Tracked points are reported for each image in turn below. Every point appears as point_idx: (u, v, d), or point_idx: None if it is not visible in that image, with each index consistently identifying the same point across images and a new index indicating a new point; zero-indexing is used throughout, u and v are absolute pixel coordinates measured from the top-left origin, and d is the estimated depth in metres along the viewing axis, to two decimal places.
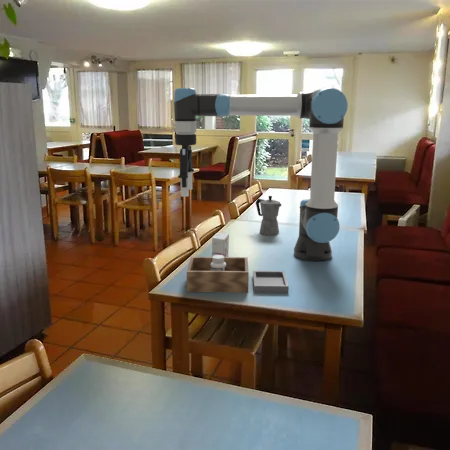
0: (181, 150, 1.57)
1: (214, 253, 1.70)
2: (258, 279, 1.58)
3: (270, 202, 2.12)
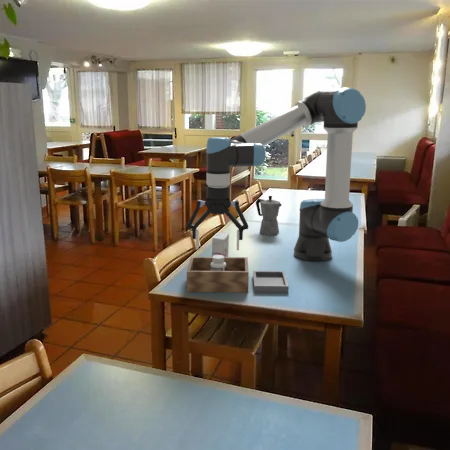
0: None
1: (213, 253, 1.70)
2: (258, 279, 1.58)
3: (270, 202, 2.12)
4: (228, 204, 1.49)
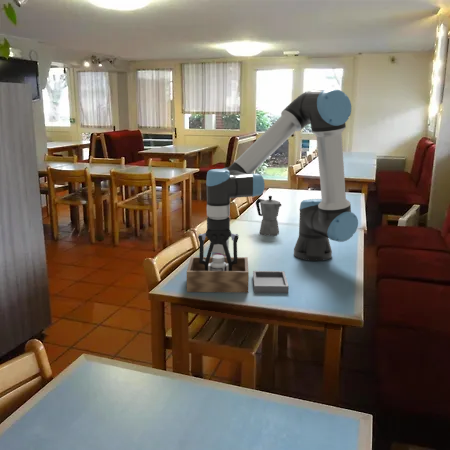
0: None
1: (213, 253, 1.70)
2: (258, 279, 1.58)
3: (270, 202, 2.12)
4: (228, 234, 1.51)
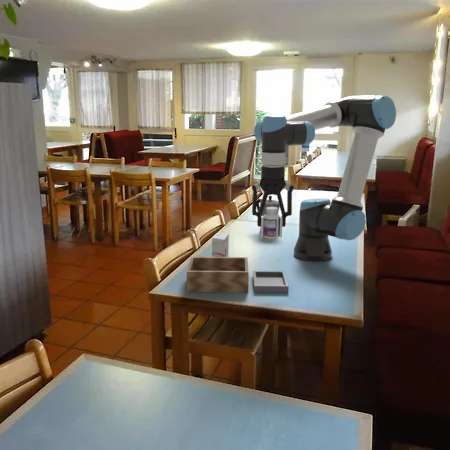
0: None
1: (213, 253, 1.70)
2: (258, 279, 1.58)
3: (270, 202, 2.12)
4: (283, 184, 1.46)
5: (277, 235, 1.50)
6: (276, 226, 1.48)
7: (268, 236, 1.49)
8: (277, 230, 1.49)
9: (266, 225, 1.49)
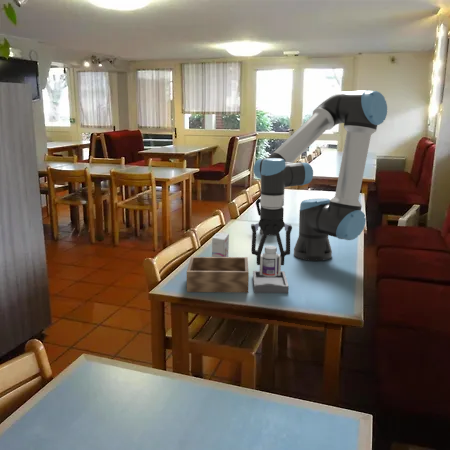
0: (251, 226, 1.52)
1: (213, 253, 1.70)
2: (258, 279, 1.58)
3: None
4: (282, 225, 1.49)
5: (276, 273, 1.53)
6: (275, 265, 1.52)
7: (267, 275, 1.52)
8: (276, 269, 1.52)
9: (265, 264, 1.52)
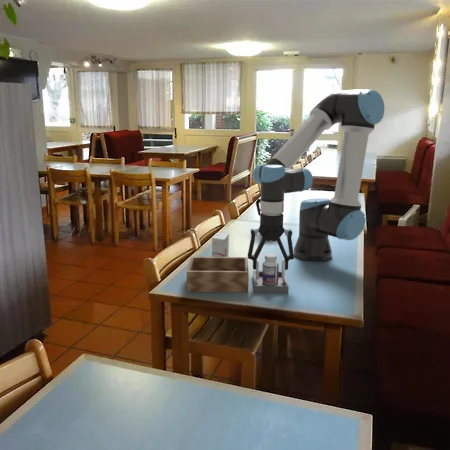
0: None
1: (213, 253, 1.70)
2: None
3: None
4: (282, 231, 1.50)
5: (276, 281, 1.54)
6: (275, 273, 1.53)
7: (267, 282, 1.53)
8: (276, 276, 1.53)
9: (265, 272, 1.53)
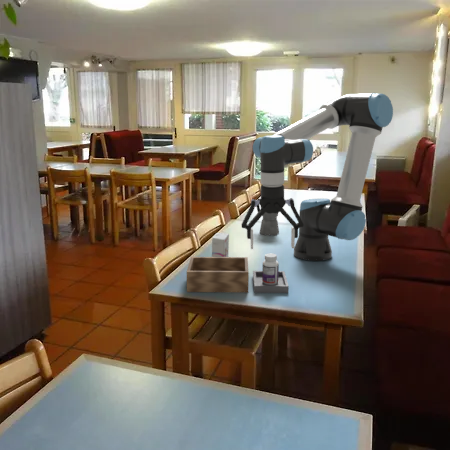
0: (251, 200, 1.50)
1: (213, 253, 1.70)
2: (258, 279, 1.58)
3: None
4: (283, 203, 1.48)
5: (276, 281, 1.54)
6: (275, 273, 1.53)
7: (267, 282, 1.53)
8: (276, 276, 1.53)
9: (265, 272, 1.53)
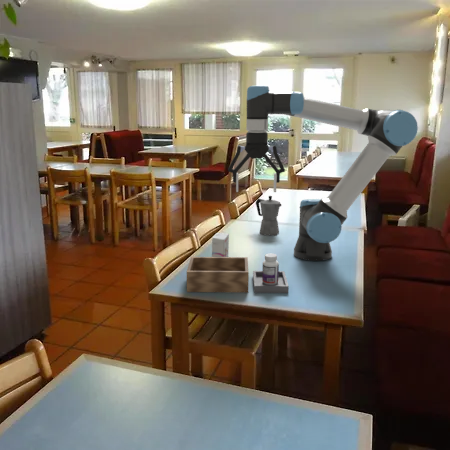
0: None
1: (213, 253, 1.70)
2: (258, 279, 1.58)
3: (270, 202, 2.12)
4: (266, 148, 1.61)
5: (276, 281, 1.54)
6: (275, 273, 1.52)
7: (267, 282, 1.53)
8: (276, 277, 1.53)
9: (265, 272, 1.53)
